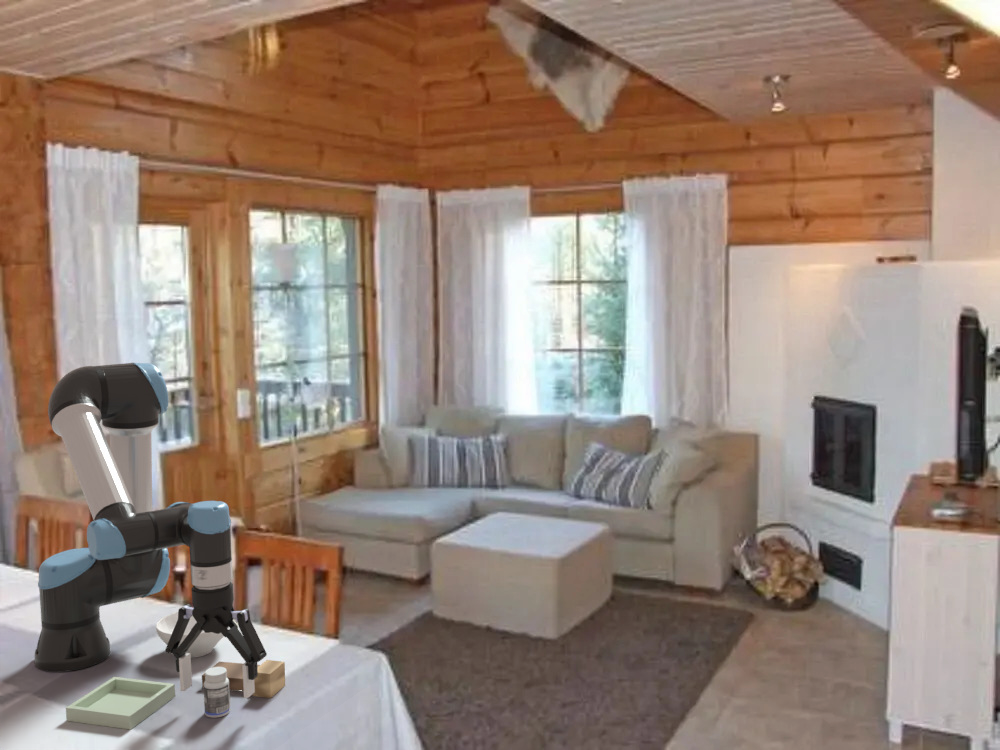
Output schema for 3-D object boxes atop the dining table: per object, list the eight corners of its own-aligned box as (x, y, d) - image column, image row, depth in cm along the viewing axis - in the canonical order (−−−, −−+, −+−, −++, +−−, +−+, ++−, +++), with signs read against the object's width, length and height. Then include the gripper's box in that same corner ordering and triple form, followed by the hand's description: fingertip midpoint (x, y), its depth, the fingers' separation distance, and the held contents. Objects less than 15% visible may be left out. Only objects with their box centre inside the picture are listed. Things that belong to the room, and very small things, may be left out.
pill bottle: (207, 707, 182) (206, 666, 181) (232, 706, 182) (230, 665, 181) (202, 718, 177) (200, 676, 176) (227, 717, 177) (225, 675, 176)
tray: (66, 720, 176) (65, 707, 176) (114, 688, 190) (114, 676, 190) (130, 729, 173) (129, 716, 173) (175, 696, 186) (174, 684, 186)
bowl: (162, 671, 198) (161, 640, 197) (152, 645, 212) (151, 615, 211) (239, 657, 205) (237, 626, 205) (224, 632, 219) (223, 603, 219)
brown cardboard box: (202, 689, 190) (202, 675, 190) (219, 675, 197) (219, 661, 197) (256, 694, 188) (256, 680, 188) (272, 679, 195) (271, 665, 194)
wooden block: (252, 695, 186) (251, 671, 186) (267, 683, 192) (266, 659, 191) (270, 698, 185) (270, 673, 185) (285, 685, 191) (284, 661, 190)
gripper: (142, 585, 176) (148, 693, 178) (261, 594, 170) (266, 706, 172) (166, 573, 183) (172, 677, 185) (281, 581, 177) (286, 689, 179)
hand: (217, 691), depth 179 cm, fingers open, 13 cm apart
